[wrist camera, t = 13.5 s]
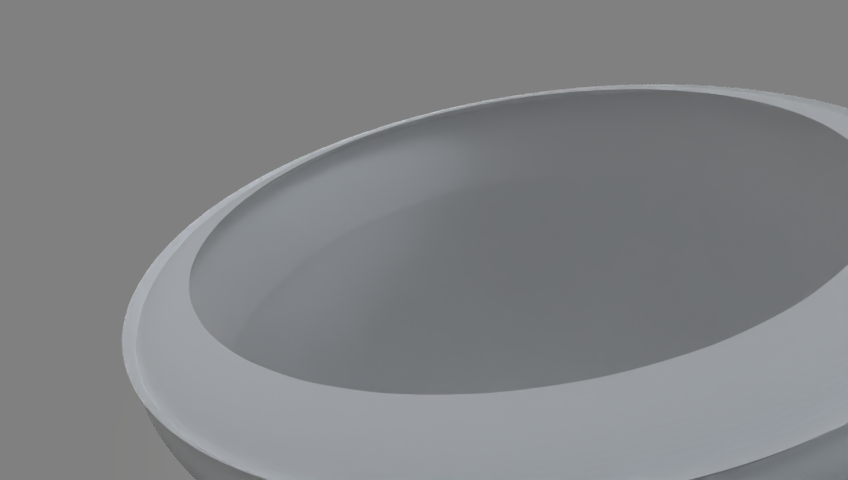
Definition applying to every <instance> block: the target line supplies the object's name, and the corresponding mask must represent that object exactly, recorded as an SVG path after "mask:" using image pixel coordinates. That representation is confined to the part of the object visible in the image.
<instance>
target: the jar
mask: <svg viewBox="0 0 848 480" xmlns="http://www.w3.org/2000/svg"><path fill="white" fill-rule="evenodd" d="M122 352H123V358H124V364H125V367H126V371H127V374H128V377H129V379H130V381H131V384H132V385H133V387H134V389H135V391H136V393H137V395H138V396H139V398H140V399H141V401H142V402H143V403H144V405H145V407H146V410H147V412H148V415H149V417H150V419H151V421H152V423H153V425H154V427H155V428H156V430H157V432H158V433H159V435H160V436H161V438H162V439H163V441H164V442H165V444H166V445H167V446H168V448H169V449H170V451H171V452H172V453H173V454H174V455H175V457H176V458H177V459H178V461H179V462H180V463H181V464H182V465H183V466H184V468H185V469H186V470H187V471H188V472H189V473H190V474H191V475H192V476H193V477H195V479H197V480H848V108H845V107H841V106H837V105H834V104H830V103H826V102H822V101H818V100H813V99H808V98H803V97H798V96H793V95H787V94H781V93H775V92H768V91H761V90H753V89H744V88H734V87H722V86H707V85H680V84H640V85H639V84H638V85H637V84H636V85H613V86H612V85H611V86H595V87H583V88H571V89H561V90H553V91H544V92H536V93H529V94H522V95H516V96H509V97H503V98H497V99H492V100H486V101H481V102H476V103H471V104H467V105H462V106H457V107H453V108H449V109H444V110H440V111H436V112H432V113H428V114H424V115H421V116H417V117H413V118H409V119H406V120H402V121H399V122H395V123H392V124H389V125H385V126H382V127H379V128H376V129H373V130H370V131H367V132H364V133H361V134H358V135H355V136H352V137H350V138H347V139H344V140H341V141H339V142H336V143H334V144H331V145H329V146H326V147H324V148H321V149H319V150H316V151H314V152H312V153H309V154H307V155H305V156H303V157H300V158H298V159H296V160H294V161H292V162H290V163H287V164H285V165H283V166H281V167H279V168H277V169H275V170H273V171H272V172H270V173H268V174H266V175H264V176H262V177H260V178H258V179H257V180H255V181H253V182H251V183H249V184H248V185H246V186H244V187H243V188H241V189H239V190H238V191H236V192H234V193H233V194H231V195H230V196H228V197H227V198H225V199H224V200H222V201H221V202H219V203H218V204H216V205H215V206H214V207H212V208H211V209H209V210H208V211H207V212H205V213H204V214H203V215H201V216H200V217H199V218H198V219H196V220H195V221H194V222H193V223H192V224H190V225H189V226H188V227H187V228H186V229H184V230H183V231H182V232H181V233H180V234H179V235H178V236H177V237H176V238H175V239H174V240H173V241H172V242H171V243H170V244H169V245H168V246H167V247H166V248H165V249H164V250H163V251H162V252H161V254H160V255H159V256H158V257H157V258H156V260H155V261H154V262H153V263H152V265H151V266H150V267H149V269H148V270H147V272H146V273H145V275H144V276H143V278H142V279H141V281H140V282H139V285H138V286H137V288H136V290H135V292H134V294H133V296H132V298H131V301H130V303H129V306H128V309H127V312H126V316H125V320H124V325H123V332H122Z"/></svg>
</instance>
